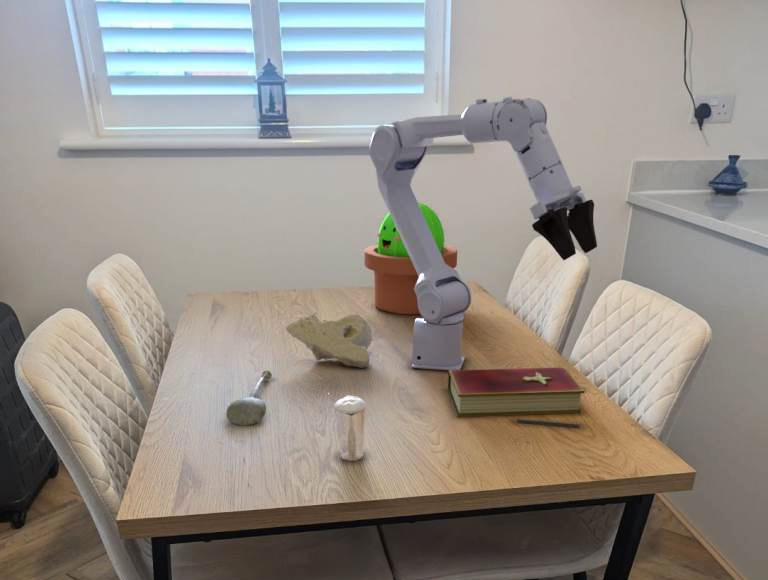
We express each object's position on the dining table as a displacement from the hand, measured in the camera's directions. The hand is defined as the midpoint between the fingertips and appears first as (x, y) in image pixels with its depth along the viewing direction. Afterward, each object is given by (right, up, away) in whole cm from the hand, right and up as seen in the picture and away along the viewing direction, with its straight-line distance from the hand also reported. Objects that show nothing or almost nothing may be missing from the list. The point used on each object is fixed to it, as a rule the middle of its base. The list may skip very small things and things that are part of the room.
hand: (580, 253), depth 115 cm
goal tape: (-3, -23, +9) cm, 25 cm away
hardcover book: (-9, -22, +10) cm, 26 cm away
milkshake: (-37, -33, -8) cm, 50 cm away
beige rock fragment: (-42, -12, +28) cm, 52 cm away
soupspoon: (-54, -22, +11) cm, 60 cm away
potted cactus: (-25, +10, +65) cm, 71 cm away
